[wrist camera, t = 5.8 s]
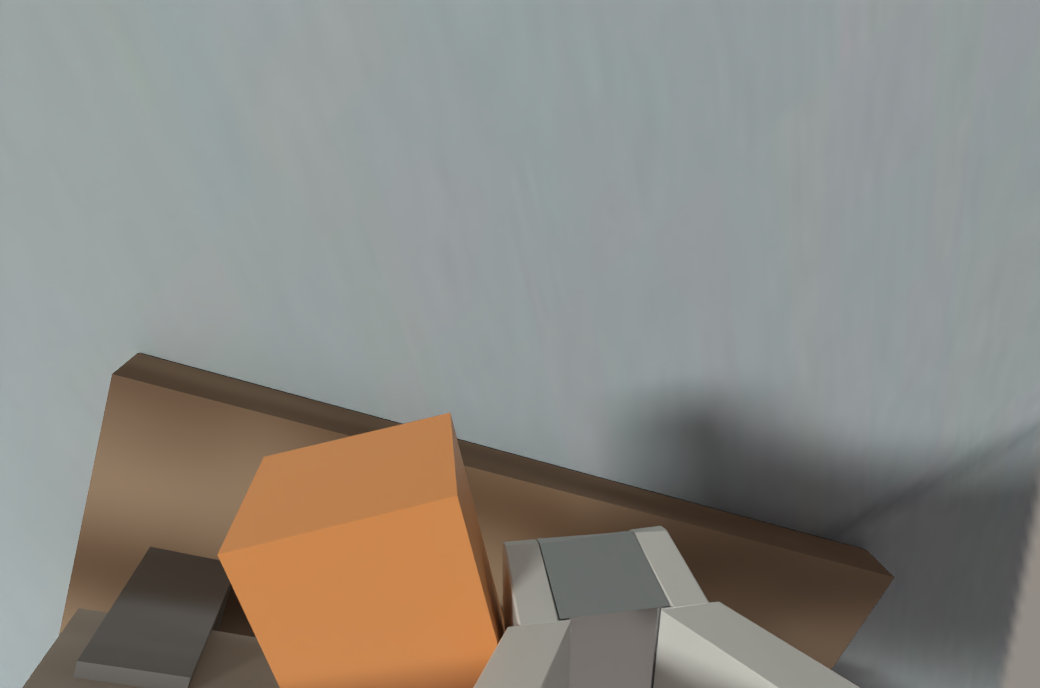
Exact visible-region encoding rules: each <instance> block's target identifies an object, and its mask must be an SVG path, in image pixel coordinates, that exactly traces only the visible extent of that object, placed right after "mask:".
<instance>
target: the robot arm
mask: <svg viewBox="0 0 1040 688" xmlns="http://www.w3.org/2000/svg"><path fill="white" fill-rule="evenodd" d="M502 588H503V613H504V628H505V633H504V634H503V636H502V638H501V640H500V641H499V643H498V645H497V647H496V648H495V650H494V652H493V654H492V656H491V657H490V659H489V661H488V663H487V664H486V666H485V668H484V670H483V671H482V673H481V675H480V677H479V678H478V680H477V682H476V684H475V685H474V687H473V688H860V687H858V686H856V685H855V684H853V683H852V682H850V681H848V680H847V679H845V678H843V677H842V676H840V675H838V674H837V673H835V672H834V671H832V670H830V669H829V668H827V667H825V666H824V665H822V664H820V663H819V662H817V661H816V660H814V659H812V658H811V657H809V656H807V655H806V654H804V653H802V652H801V651H799V650H798V649H796V648H794V647H793V646H791V645H789V644H788V643H786V642H784V641H783V640H781V639H780V638H778V637H776V636H775V635H773V634H771V633H770V632H768V631H766V630H765V629H763V628H762V627H760V626H758V625H757V624H755V623H753V622H752V621H750V620H748V619H747V618H745V617H743V616H742V615H740V614H739V613H737V612H735V611H734V610H732V609H730V608H729V607H727V606H725V605H724V604H722V603H721V602H711V603H709V601H708V599H707V598H706V596H705V594H704V593H703V591H702V589H701V588H700V586H699V584H698V582H697V581H696V579H695V577H694V576H693V574H692V572H691V571H690V569H689V567H688V566H687V564H686V562H685V560H684V559H683V557H682V555H681V554H680V552H679V550H678V549H677V547H676V545H675V543H674V542H673V540H672V538H671V537H670V535H669V533H668V532H667V530H666V529H665V528H663V527H662V526H655V527H647V528H639V529H631V530H629V531H621V532H612V533H603V534H590V535H577V536H565V537H552V538H539V539H537V540H535V539H532V540H520V541H509V542H503V545H502Z"/></svg>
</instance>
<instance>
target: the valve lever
mask: <svg viewBox="0 0 1040 688" xmlns="http://www.w3.org/2000/svg"><path fill="white" fill-rule="evenodd" d="M217 555H218V557H219V559H220V562H221V564H222V566H223V568H224V570H225V572H226V574H227V576H228V579H229V581H230V583H231V585H232V587H233V589H234V591H235V593H236V596H237V598H238V600H239V602H240V604H241V606H242V608H243V610H244V613H245V615H246V617H247V619H248V621H249V623H250V625H251V627H252V630H253V632H254V634H255V636H256V638H257V640H258V642H259V644H260V647H261V649H262V651H263V653H264V655H265V657H266V659H267V662H268V664H269V666H270V668H271V670H272V672H273V674H274V676H275V679H276V681H277V683H278V685H279V687H280V688H473V687H474V685H475V684H476V682H477V680H478V678H479V677H480V675H481V673H482V671H483V670H484V668H485V666H486V664H487V663H488V661H489V659H490V657H491V656H492V654H493V652H494V650H495V648H496V647H497V645H498V643H499V641H500V640H501V638H502V636H503V634H504V633H505V628H504V618H503V614H502V610H501V607H500V603H499V599H498V595H497V591H496V587H495V583H494V580H493V576H492V572H491V568H490V564H489V560H488V556H487V553H486V549H485V545H484V541H483V537H482V533H481V530H480V526H479V522H478V518H477V514H476V510H475V506H474V503H473V499H472V495H471V491H470V487H469V483H468V479H467V476H466V472H465V468H464V464H463V460H462V456H461V452H460V449H459V445H458V441H457V437H456V433H455V429H454V425H453V422H452V418H451V414H450V413H447V414H443V415H439V416H435V417H430V418H426V419H422V420H418V421H414V422H409V423H405V424H401V425H397V426H392V427H388V428H384V429H380V430H375V431H371V432H367V433H363V434H358V435H354V436H350V437H346V438H341V439H337V440H333V441H329V442H325V443H320V444H316V445H312V446H308V447H303V448H299V449H295V450H291V451H286V452H282V453H278V454H274V455H269V456H265V457H263V460H262V462H261V464H260V466H259V468H258V470H257V472H256V474H255V476H254V478H253V481H252V483H251V485H250V487H249V489H248V491H247V493H246V495H245V497H244V500H243V502H242V504H241V506H240V508H239V510H238V512H237V514H236V516H235V519H234V521H233V523H232V525H231V527H230V529H229V531H228V533H227V535H226V538H225V540H224V542H223V544H222V546H221V548H220V550H219V552H218V554H217Z"/></svg>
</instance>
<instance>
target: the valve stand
mask: <svg viewBox="0 0 1040 688" xmlns="http://www.w3.org/2000/svg"><path fill="white" fill-rule="evenodd" d="M397 425H401V424H399V423H396V422H392V421H388V420H385V419H381V418H377V417H374V416H370V415H366V414H363V413H359V412H355V411H351V410H348V409H344V408H340V407H337V406H333V405H329V404H326V403H322V402H318V401H315V400H311V399H307V398H303V397H300V396H296V395H292V394H289V393H285V392H281V391H278V390H274V389H270V388H267V387H263V386H259V385H255V384H252V383H248V382H244V381H241V380H237V379H233V378H230V377H226V376H222V375H219V374H215V373H211V372H207V371H204V370H200V369H196V368H193V367H189V366H185V365H182V364H178V363H174V362H171V361H167V360H163V359H159V358H156V357H152V356H148V355H145V354H141V353H137V354H136V355H135V356H134V357H132V358H131V359H130V360H129V361H128V362H126V363H125V364H124V365H123V366H121V367H120V368H119V369H118V370H117V371H115V372H114V373H113V374H112V378H111V383H110V388H109V393H108V397H107V402H106V407H105V412H104V417H103V422H102V427H101V432H100V437H99V442H98V447H97V452H96V457H95V461H94V466H93V471H92V476H91V481H90V486H89V491H88V496H87V501H86V506H85V511H84V516H83V521H82V525H81V530H80V535H79V540H78V545H77V550H76V555H75V560H74V565H73V570H72V575H71V580H70V585H69V589H68V594H67V599H66V604H65V609H64V614H63V619H62V624H61V629H60V634H59V637H58V638H57V639H56V641H55V642H54V644H53V645H52V647H51V648H50V649H49V651H48V652H47V654H46V655H45V656H44V658H43V659H42V661H41V662H40V664H39V665H38V666H37V668H36V669H35V671H34V672H33V673H32V675H31V676H30V678H29V679H28V681H27V682H26V683H25V685H24V686H23V688H280V687H279V685H278V683H277V681H276V679H275V676H274V674H273V672H272V670H271V668H270V666H269V664H268V662H267V659H266V657H265V655H264V653H263V651H262V649H261V647H260V644H259V642H258V640H257V638H256V636H255V634H254V632H253V630H252V627H251V625H250V623H249V621H248V619H247V617H246V615H245V613H244V610H243V608H242V606H241V604H240V602H239V600H238V598H237V596H236V593H235V591H234V589H233V587H232V585H231V583H230V581H229V579H228V576H227V574H226V572H225V570H224V568H223V566H222V564H221V562H220V559H219V557H218V555H217V554H218V552H219V550H220V548H221V546H222V544H223V542H224V540H225V538H226V535H227V533H228V531H229V529H230V527H231V525H232V523H233V521H234V519H235V516H236V514H237V512H238V510H239V508H240V506H241V504H242V502H243V500H244V497H245V495H246V493H247V491H248V489H249V487H250V485H251V483H252V481H253V478H254V476H255V474H256V472H257V470H258V468H259V466H260V464H261V462H262V460H263V457H265V456H269V455H274V454H278V453H282V452H286V451H291V450H295V449H299V448H303V447H308V446H312V445H316V444H320V443H325V442H329V441H333V440H337V439H341V438H346V437H350V436H354V435H358V434H363V433H367V432H371V431H375V430H380V429H384V428H388V427H392V426H397ZM457 441H458V445H459V449H460V452H461V456H462V460H463V464H464V468H465V472H466V476H467V479H468V483H469V487H470V491H471V495H472V499H473V503H474V506H475V510H476V514H477V518H478V522H479V526H480V530H481V533H482V537H483V541H484V545H485V549H486V553H487V556H488V560H489V564H490V568H491V572H492V576H493V580H494V583H495V587H496V591H497V595H498V599H499V603H500V607H501V610H502V614H503V618H504V613H503V588H502V545H503V542H509V541H520V540H532V539H535V540H537V539H539V538H552V537H565V536H577V535H590V534H603V533H612V532H621V531H629V530H631V529H639V528H647V527H655V526H662V527H663V528H665V529H666V530H667V532H668V533H669V535H670V537H671V538H672V540H673V542H674V543H675V545H676V547H677V549H678V550H679V552H680V554H681V555H682V557H683V559H684V560H685V562H686V564H687V566H688V567H689V569H690V571H691V572H692V574H693V576H694V577H695V579H696V581H697V582H698V584H699V586H700V588H701V589H702V591H703V593H704V594H705V596H706V598H707V599H708V601H709V603H711V602H721V603H722V604H724V605H725V606H727V607H729V608H730V609H732V610H734V611H735V612H737V613H739V614H740V615H742V616H743V617H745V618H747V619H748V620H750V621H752V622H753V623H755V624H757V625H758V626H760V627H762V628H763V629H765V630H766V631H768V632H770V633H771V634H773V635H775V636H776V637H778V638H780V639H781V640H783V641H784V642H786V643H788V644H789V645H791V646H793V647H794V648H796V649H798V650H799V651H801V652H802V653H804V654H806V655H807V656H809V657H811V658H812V659H814V660H816V661H817V662H819V663H820V664H822V665H824V666H825V667H827V668H829V669H830V670H831V669H832V668H833V667H834V665H835V664H836V662H837V661H838V659H839V658H840V656H841V655H842V653H843V652H844V650H845V649H846V647H847V646H848V645H849V643H850V642H851V640H852V639H853V637H854V636H855V634H856V633H857V631H858V630H859V628H860V627H861V625H862V624H863V622H864V621H865V620H866V618H867V617H868V615H869V614H870V612H871V611H872V609H873V608H874V606H875V605H876V603H877V602H878V600H879V599H880V598H881V596H882V595H883V593H884V592H885V590H886V589H887V587H888V586H889V584H890V583H891V581H892V580H893V578H894V577H893V576H892V575H891V574H890V573H889V572H888V571H887V570H886V569H885V568H884V567H883V566H882V565H881V564H880V563H879V562H878V561H877V560H876V559H875V558H874V557H873V556H872V555H871V554H870V553H869V552H868V551H867V550H865V549H861V548H857V547H854V546H850V545H846V544H842V543H839V542H835V541H831V540H828V539H824V538H820V537H817V536H813V535H809V534H806V533H802V532H798V531H794V530H791V529H787V528H783V527H780V526H776V525H772V524H769V523H765V522H761V521H758V520H754V519H750V518H746V517H743V516H739V515H735V514H732V513H728V512H724V511H721V510H717V509H713V508H710V507H706V506H702V505H698V504H695V503H691V502H687V501H684V500H680V499H676V498H673V497H669V496H665V495H662V494H658V493H654V492H650V491H647V490H643V489H639V488H636V487H632V486H628V485H625V484H621V483H617V482H614V481H610V480H606V479H602V478H599V477H595V476H591V475H588V474H584V473H580V472H577V471H573V470H569V469H566V468H562V467H558V466H555V465H551V464H547V463H543V462H540V461H536V460H532V459H529V458H525V457H521V456H518V455H514V454H510V453H507V452H503V451H499V450H495V449H492V448H488V447H484V446H481V445H477V444H473V443H470V442H466V441H462V440H459V439H457Z"/></svg>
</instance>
